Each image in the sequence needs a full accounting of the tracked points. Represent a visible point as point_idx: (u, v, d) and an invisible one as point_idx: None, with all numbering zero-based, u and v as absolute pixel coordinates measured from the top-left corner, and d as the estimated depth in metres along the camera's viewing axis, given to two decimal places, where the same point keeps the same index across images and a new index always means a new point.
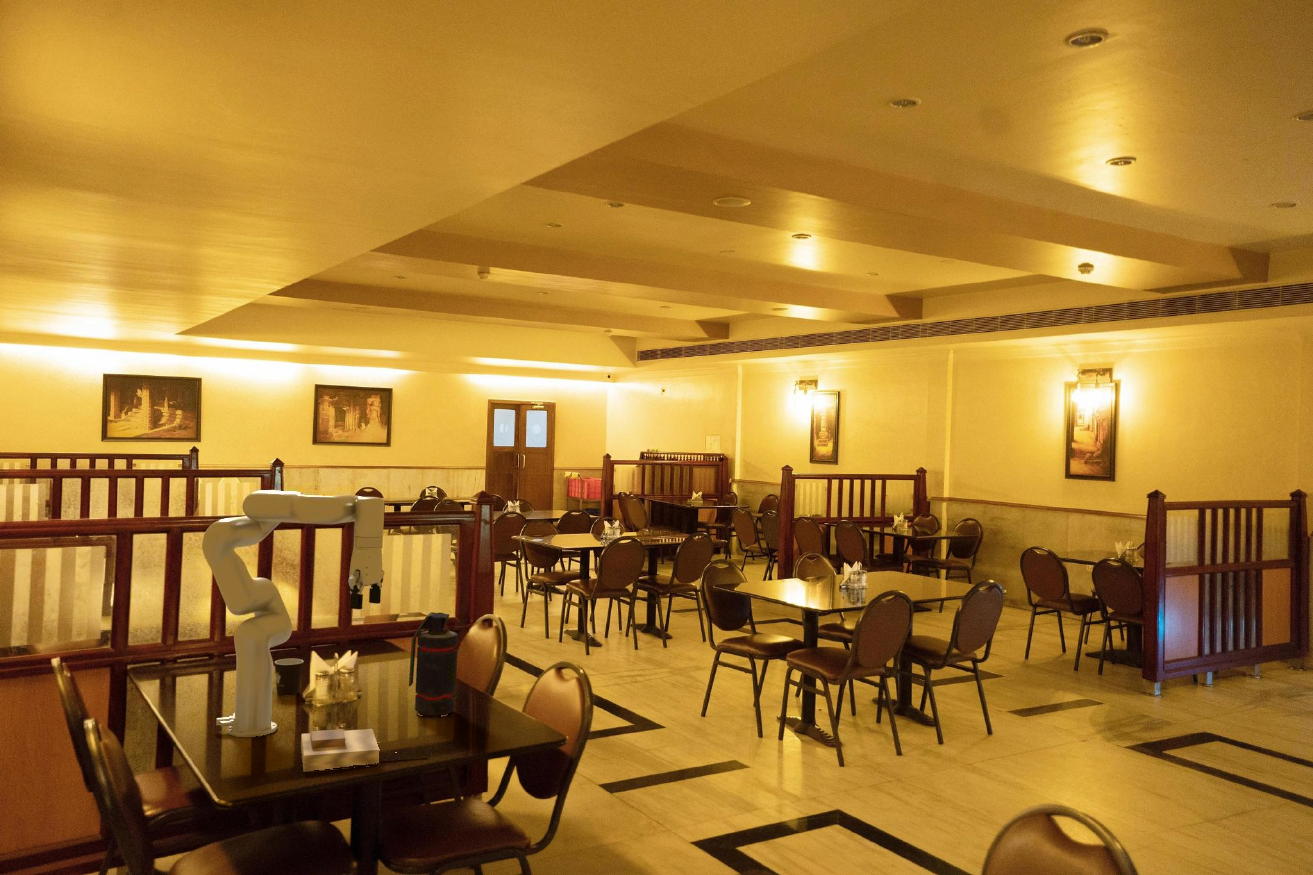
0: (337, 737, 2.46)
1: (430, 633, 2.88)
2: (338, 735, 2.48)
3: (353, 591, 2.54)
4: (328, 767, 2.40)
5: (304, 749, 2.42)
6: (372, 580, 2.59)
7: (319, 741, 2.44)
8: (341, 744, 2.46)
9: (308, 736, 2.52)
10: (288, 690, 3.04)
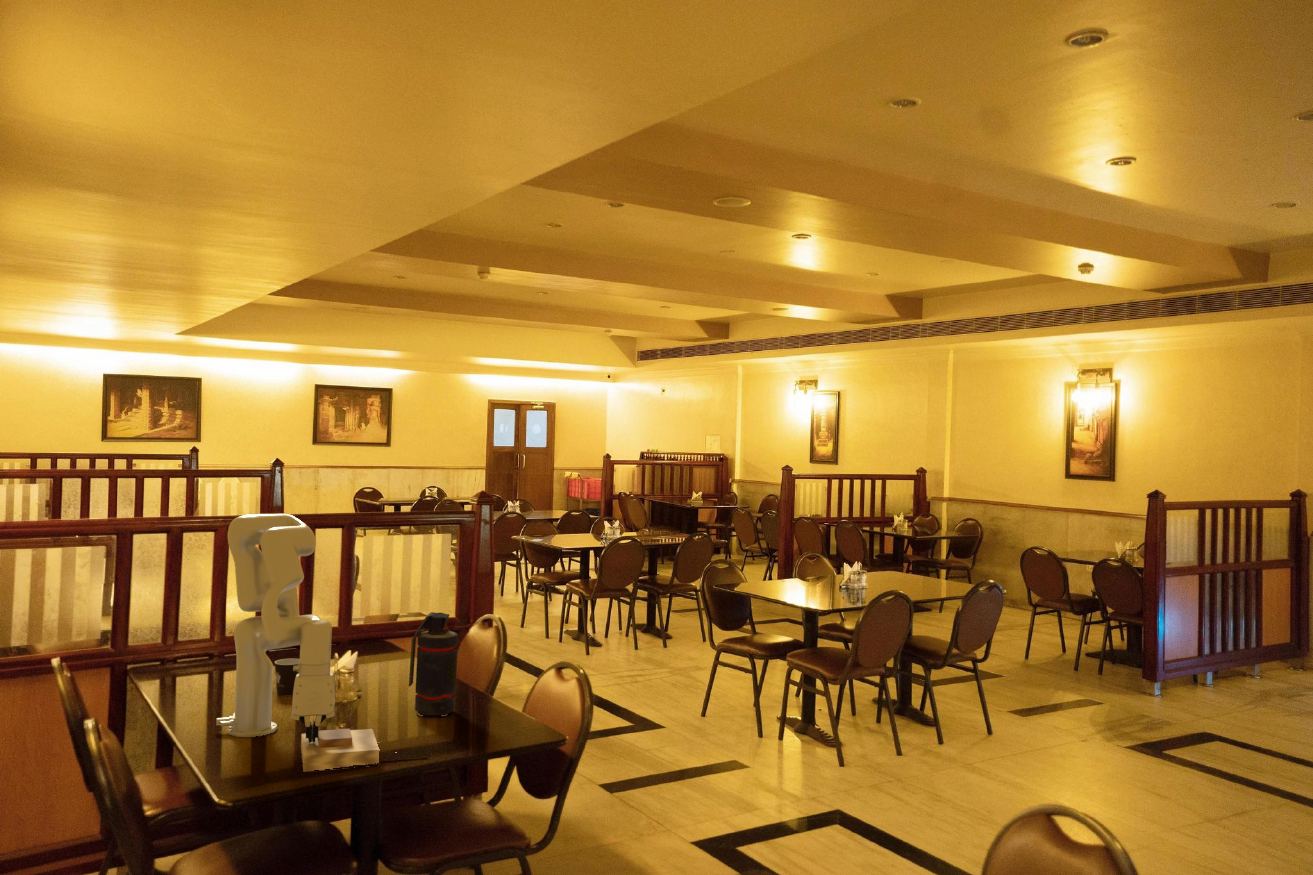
0: (344, 737, 2.47)
1: (430, 633, 2.88)
2: (344, 735, 2.48)
3: None
4: (328, 767, 2.40)
5: (304, 749, 2.42)
6: None
7: (326, 740, 2.44)
8: (348, 743, 2.46)
9: None
10: (288, 690, 3.04)
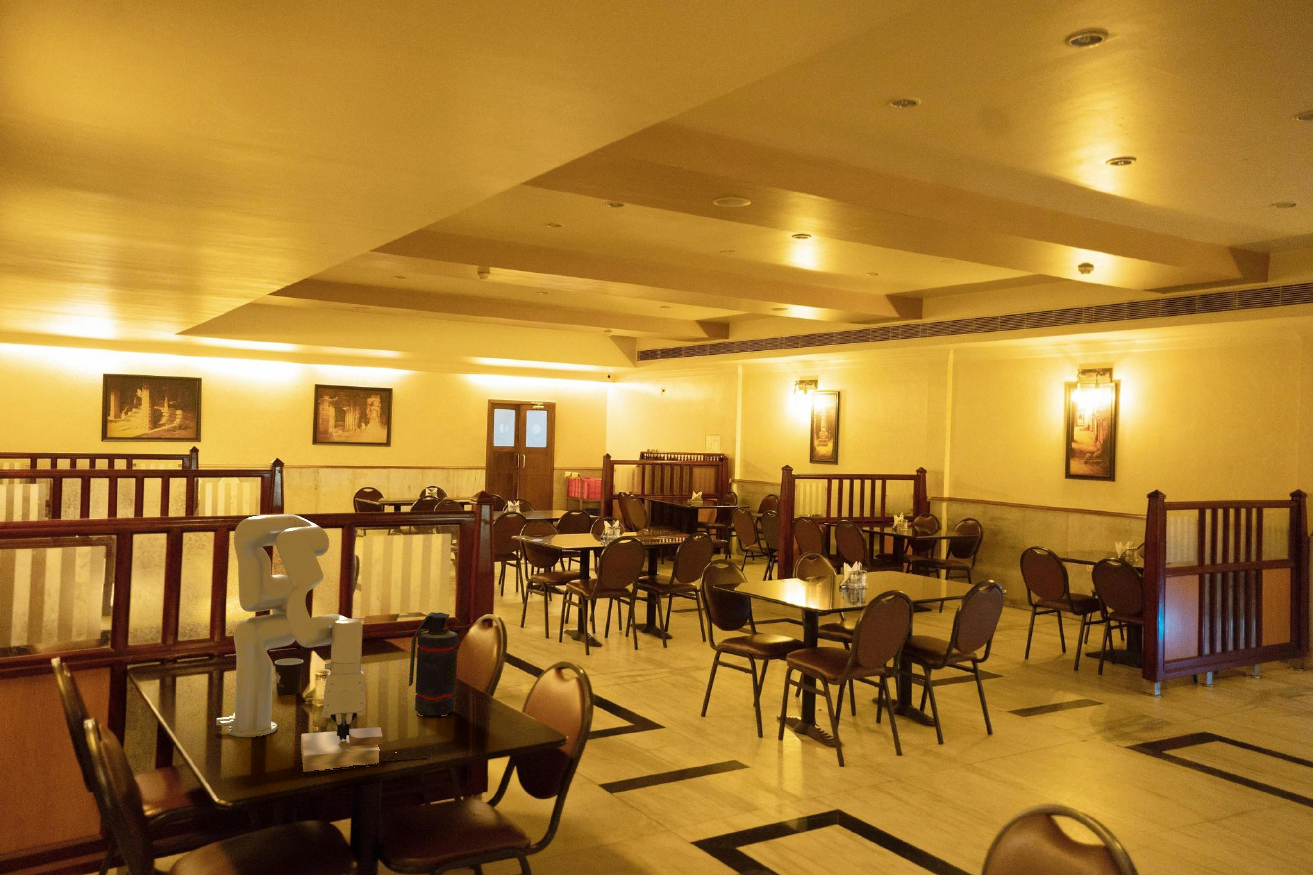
0: (375, 735, 2.49)
1: (430, 633, 2.88)
2: (375, 733, 2.51)
3: None
4: (328, 767, 2.40)
5: (304, 749, 2.42)
6: None
7: (357, 739, 2.47)
8: (378, 742, 2.48)
9: (308, 736, 2.52)
10: (288, 690, 3.04)
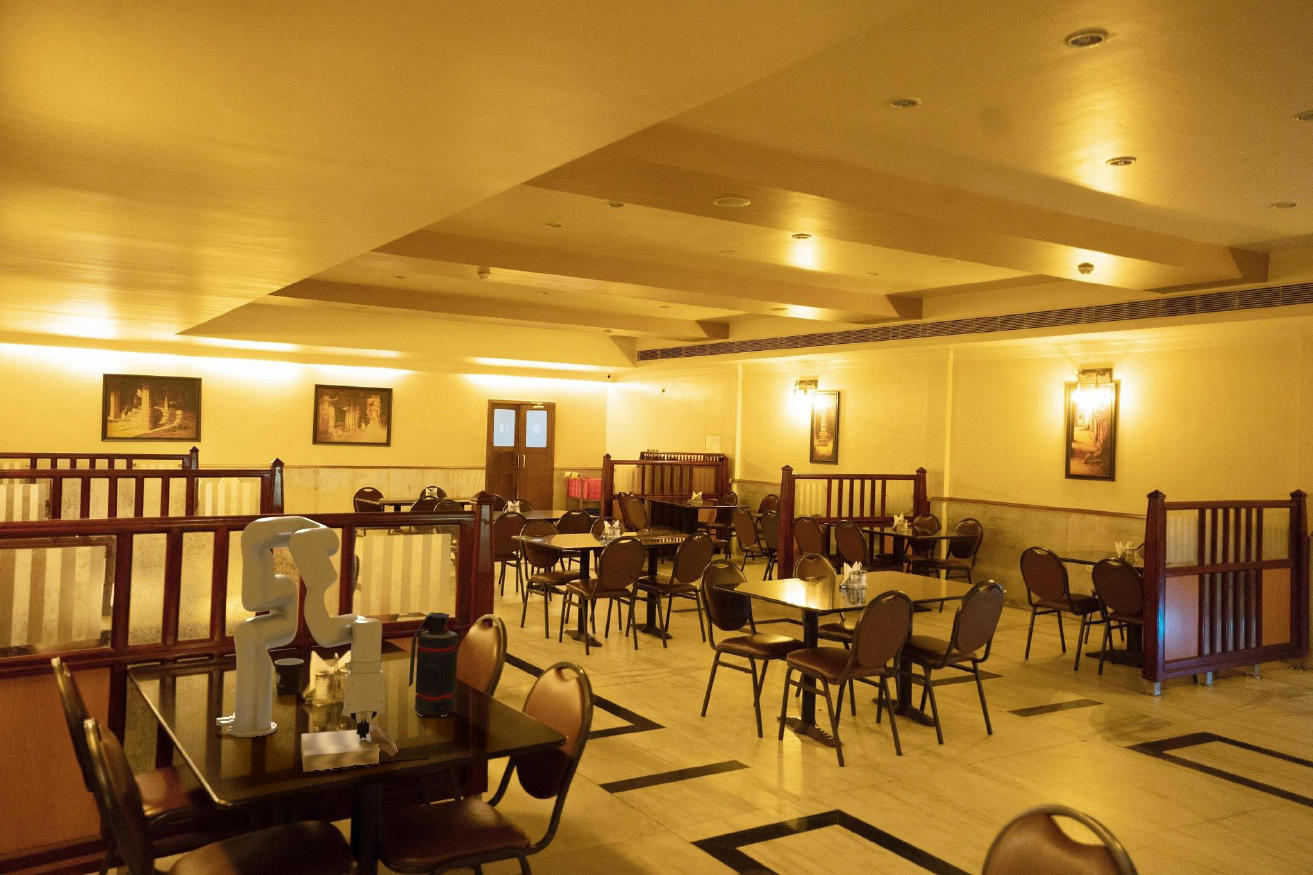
0: (393, 746, 2.50)
1: (430, 633, 2.88)
2: (392, 744, 2.52)
3: None
4: (328, 767, 2.40)
5: (304, 749, 2.42)
6: None
7: (380, 736, 2.48)
8: (391, 753, 2.49)
9: (308, 736, 2.52)
10: (288, 690, 3.04)
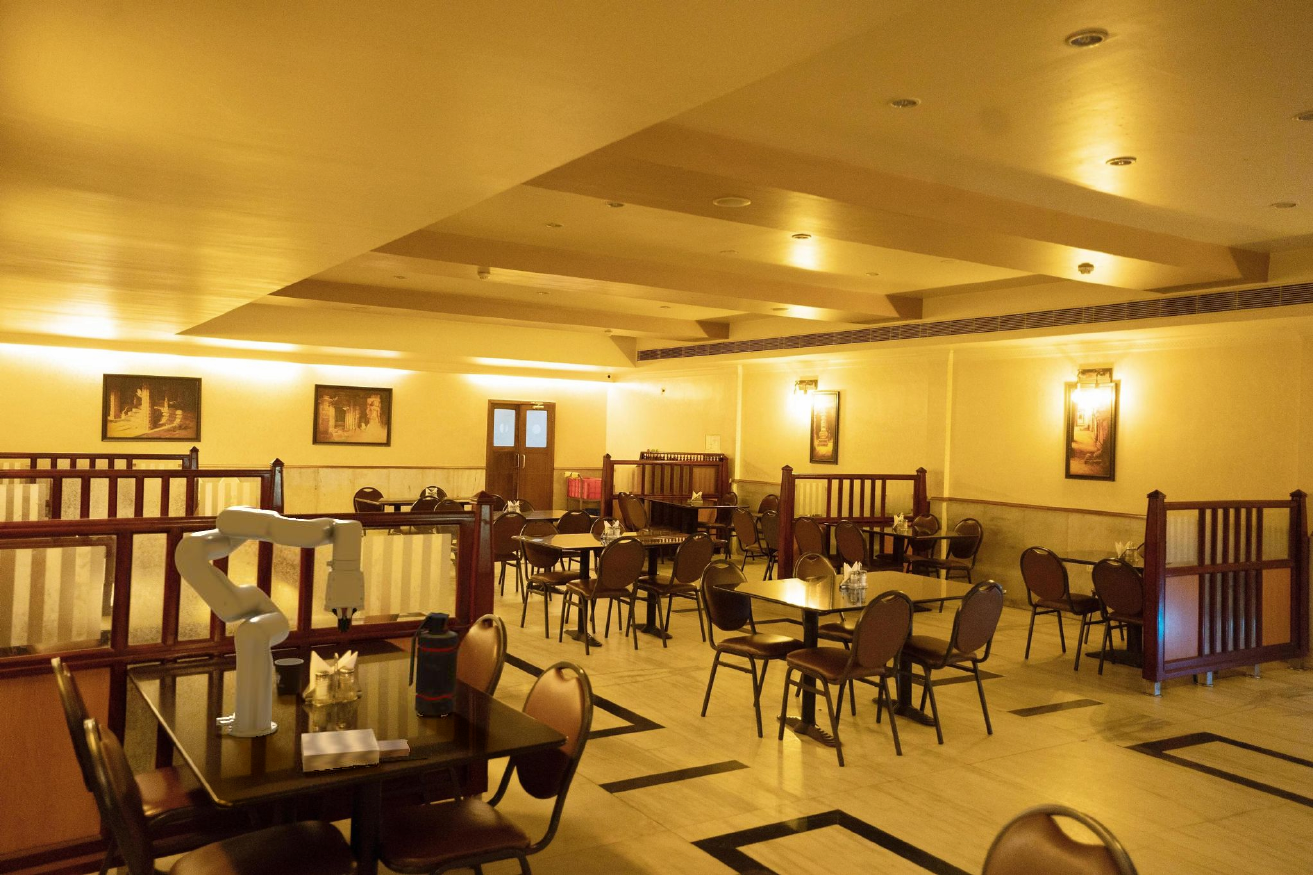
0: (402, 747, 2.51)
1: (430, 633, 2.88)
2: (402, 745, 2.53)
3: None
4: (328, 767, 2.40)
5: (304, 749, 2.42)
6: None
7: (384, 751, 2.49)
8: (406, 754, 2.51)
9: (308, 736, 2.52)
10: (288, 690, 3.04)
